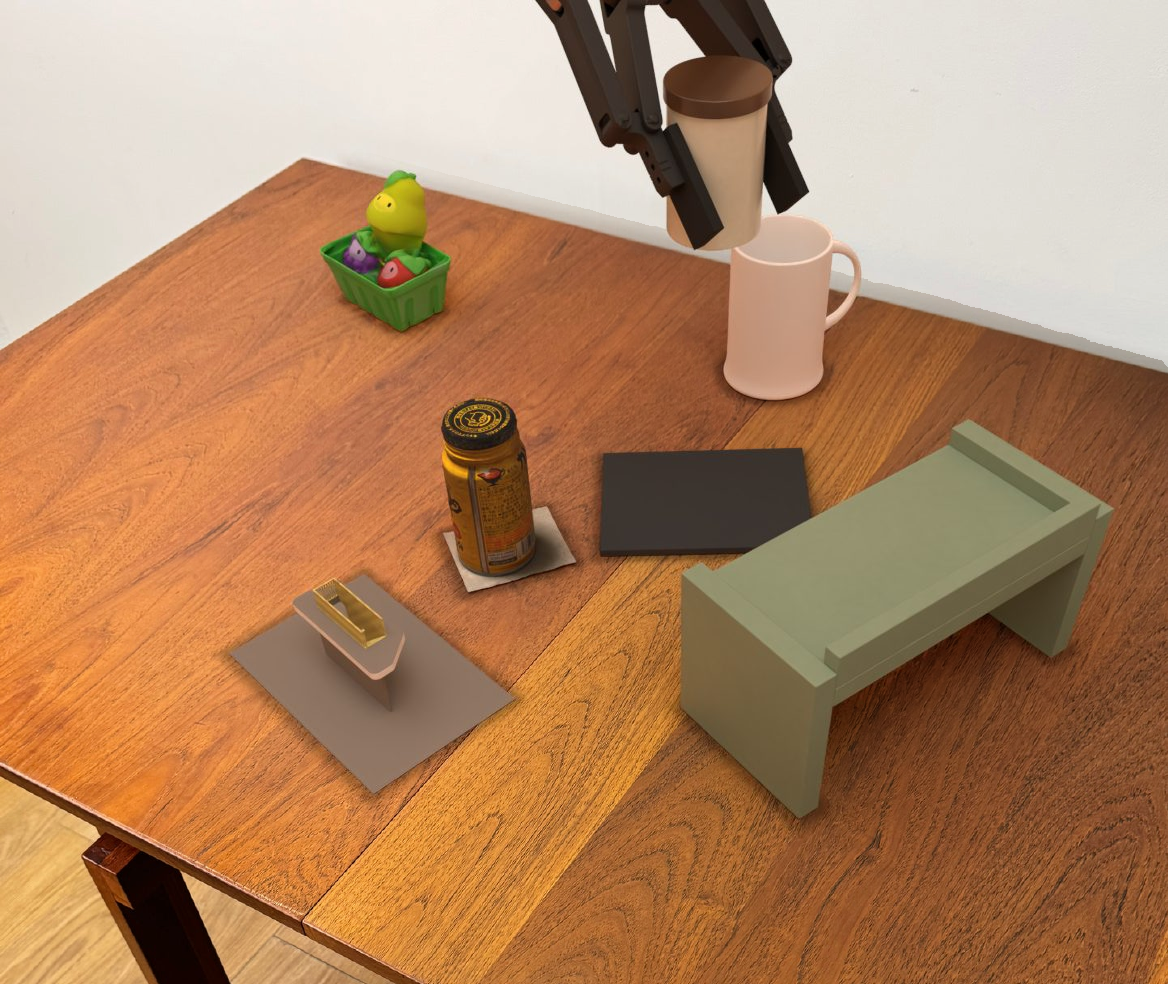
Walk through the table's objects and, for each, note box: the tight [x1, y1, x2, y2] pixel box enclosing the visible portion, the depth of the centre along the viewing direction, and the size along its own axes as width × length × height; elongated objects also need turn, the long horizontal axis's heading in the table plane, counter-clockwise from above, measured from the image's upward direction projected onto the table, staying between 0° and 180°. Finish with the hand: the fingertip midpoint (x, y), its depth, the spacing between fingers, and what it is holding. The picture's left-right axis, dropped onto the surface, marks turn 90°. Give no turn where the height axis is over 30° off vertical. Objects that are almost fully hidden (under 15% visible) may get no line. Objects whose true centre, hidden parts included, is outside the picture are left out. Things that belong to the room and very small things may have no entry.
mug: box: [723, 213, 862, 401], centre depth 104 cm, size 12×8×12 cm
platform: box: [228, 573, 516, 795], centre depth 86 cm, size 12×18×7 cm, turn 42°
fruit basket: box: [318, 169, 452, 333], centre depth 115 cm, size 11×9×11 cm
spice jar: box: [662, 55, 773, 252], centre depth 77 cm, size 6×6×9 cm
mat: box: [599, 447, 812, 557], centre depth 98 cm, size 16×12×1 cm
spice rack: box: [679, 418, 1115, 820], centre depth 80 cm, size 24×12×13 cm, turn 125°
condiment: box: [440, 397, 577, 593], centre depth 91 cm, size 7×8×12 cm
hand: (751, 220), depth 77 cm, fingers closed on spice jar, 6 cm apart
